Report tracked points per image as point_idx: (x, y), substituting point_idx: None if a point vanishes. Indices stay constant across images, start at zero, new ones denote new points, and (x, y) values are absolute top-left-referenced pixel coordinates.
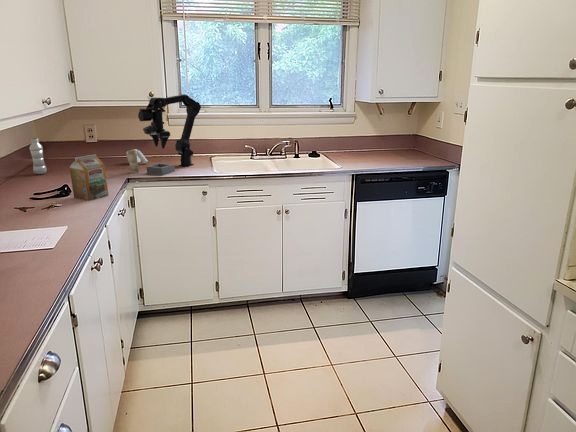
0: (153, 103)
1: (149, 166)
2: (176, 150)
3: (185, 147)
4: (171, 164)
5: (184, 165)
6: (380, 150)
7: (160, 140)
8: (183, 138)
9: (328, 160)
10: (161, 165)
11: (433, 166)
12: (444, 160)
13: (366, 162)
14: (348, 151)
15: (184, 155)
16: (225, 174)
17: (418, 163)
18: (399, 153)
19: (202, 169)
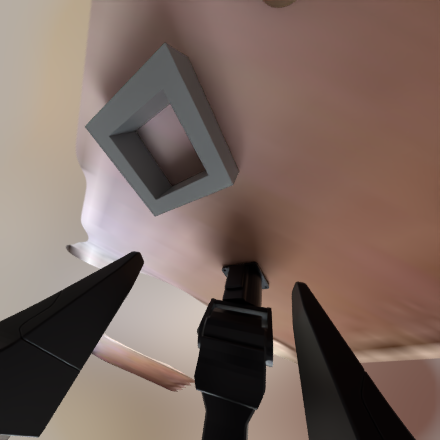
0: None
1: (156, 72)
2: (259, 322)
3: (199, 340)
4: (162, 210)
5: (230, 266)
6: (175, 386)
7: (28, 329)
8: (214, 415)
9: (148, 357)
10: (199, 177)
11: (94, 352)
12: (114, 365)
13: (125, 355)
14: (186, 384)
15: (225, 303)
16: (90, 259)
17: (108, 357)
18: (154, 379)
19: (162, 265)
